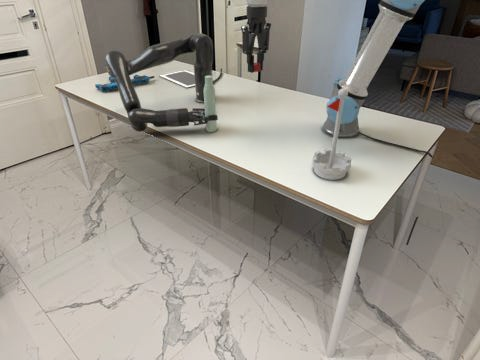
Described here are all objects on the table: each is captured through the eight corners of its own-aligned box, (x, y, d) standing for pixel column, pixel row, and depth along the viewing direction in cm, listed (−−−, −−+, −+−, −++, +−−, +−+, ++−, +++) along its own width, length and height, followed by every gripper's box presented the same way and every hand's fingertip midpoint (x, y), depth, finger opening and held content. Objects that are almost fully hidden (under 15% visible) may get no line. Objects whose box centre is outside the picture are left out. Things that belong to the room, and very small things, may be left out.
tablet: (159, 76, 220) (159, 75, 220) (185, 70, 231) (185, 69, 231) (186, 88, 199) (186, 87, 199) (214, 81, 210) (214, 80, 210)
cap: (250, 68, 137) (250, 62, 136) (261, 69, 137) (261, 62, 135) (248, 71, 134) (249, 65, 132) (259, 72, 133) (260, 65, 132)
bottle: (218, 130, 151) (216, 76, 138) (209, 132, 148) (206, 78, 135) (213, 126, 154) (210, 74, 141) (204, 129, 152) (200, 76, 139)
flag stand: (334, 159, 128) (348, 80, 112) (356, 176, 118) (375, 92, 101) (304, 166, 124) (314, 84, 108) (324, 184, 114) (338, 97, 97)
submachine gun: (140, 69, 223) (158, 75, 206) (141, 75, 225) (159, 81, 208) (87, 79, 204) (103, 87, 188) (89, 85, 206) (105, 94, 190)
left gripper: (178, 119, 153) (215, 116, 156) (178, 132, 142) (218, 129, 144) (176, 103, 149) (214, 101, 152) (176, 115, 138) (218, 113, 140)
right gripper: (266, 2, 130) (264, 65, 142) (232, 6, 120) (232, 72, 133) (281, 4, 125) (276, 69, 138) (246, 8, 115) (245, 77, 128)
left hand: (216, 115), depth 148 cm, fingers closed on bottle, 4 cm apart
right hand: (255, 70), depth 135 cm, fingers closed on cap, 4 cm apart
